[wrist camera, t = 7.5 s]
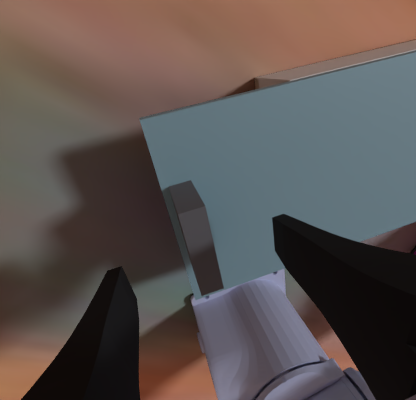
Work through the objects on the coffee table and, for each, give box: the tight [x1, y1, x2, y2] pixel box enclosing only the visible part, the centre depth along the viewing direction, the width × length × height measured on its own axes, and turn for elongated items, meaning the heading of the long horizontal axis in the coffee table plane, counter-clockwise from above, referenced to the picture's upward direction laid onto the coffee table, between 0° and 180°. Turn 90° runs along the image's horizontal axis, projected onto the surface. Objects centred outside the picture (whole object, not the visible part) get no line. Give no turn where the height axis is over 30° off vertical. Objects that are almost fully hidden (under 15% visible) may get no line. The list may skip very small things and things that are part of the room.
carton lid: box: [139, 50, 416, 300], centre depth 15 cm, size 18×12×4 cm, turn 101°
